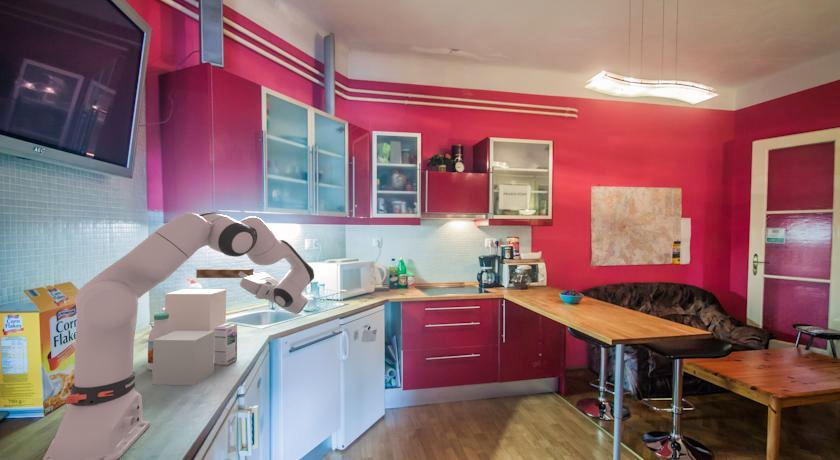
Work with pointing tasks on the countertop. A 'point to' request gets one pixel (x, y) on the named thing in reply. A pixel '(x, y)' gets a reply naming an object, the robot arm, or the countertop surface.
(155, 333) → the milk bottle
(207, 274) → the walnut rail
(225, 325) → the syrup box
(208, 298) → the white box
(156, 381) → the box
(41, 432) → the countertop surface
